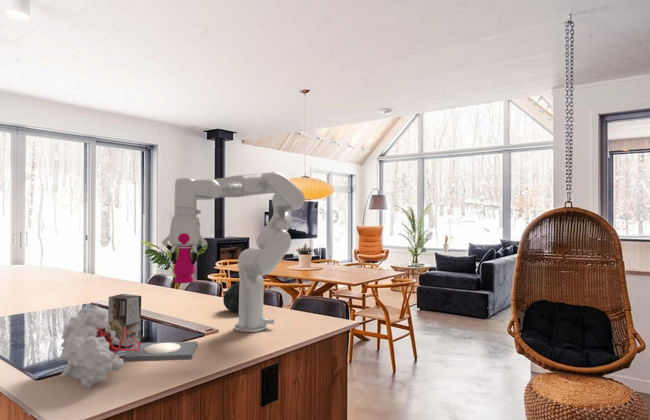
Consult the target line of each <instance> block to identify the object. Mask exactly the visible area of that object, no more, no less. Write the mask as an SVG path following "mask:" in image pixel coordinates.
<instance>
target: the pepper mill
mask: <svg viewBox="0 0 650 420" xmlns="http://www.w3.org/2000/svg"><path fill="white" fill-rule="evenodd" d="M178 240H179V241H180V242H181V243H182V244H179V245H178V246H177V248H176V249H178V252H177V261H176V263H175V264H173V265H174V266H173V271H172V272H173V273H174V275H175V277H174V283H175V284H190V283H193V282H194V276H193V274H195V271H196V268H195V264H192V255H191V254H192V253H191V250H192V249H193V248H192V245H189V244H186V243H187V242H188V241H189V240H190V237H189V235H188V234H186V233H182V234H180V235H179V237H178Z"/></svg>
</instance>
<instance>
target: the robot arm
mask: <svg viewBox="0 0 650 420" xmlns="http://www.w3.org/2000/svg"><path fill="white" fill-rule="evenodd" d="M266 194H268V195H269V194H273V196H272V198H271V204H272V209H273V214H272V217H271V218H270V220H269V222H268V223H267V224H266V225H264V227H263V229H261V232H260V233H259V234H258V235H257V237H256V242H255V243H256V246H257V248H246V249H244V250H242V251H241V252H240V254H239V256H238V259H237V266H238V267H237V268H238V276H239V282H240V287H239V313H238V322H237V323H236V324H234V327H233V329H234V330H235V331H237V332H242V333H257V332H263V331H265V330H267V325H268V324H269V325H274V324H275V318H271V317H270V318H266V317H264V291H265V289H264V287H265V285H264V282H265V281H264V276H267V275H269V274H271V273H272V272H273V271H274V270H275V269H276V268H277V266H278V265H279V264H280V262H281V261H282V260H283V258H284V257H285V255H286V254H287V253H288V252H289V250H290V247H291V244H292V238H291V234H290V233H289V232H288V231H289V230H290V227H291V225H292V212H291V211H297V210H299V209H302V208H303V207H304V205H305V202H306V198H305V195H304V193H303V191H302V190H301V189H300V188H299V187H298V186H297V185H296V184H294V182H292V181H291V180H290V179H289V178H288V177H286V176H285V174H283V173H281V172H278V171H272V172H271V171H270V172H261V173H251V174H250V173H249V174H248V173H247V174H239V175H232V176H226V177H222V178H221V177H220V178H213V179H211V178H207V179H204V178H203V179H194V178H189V177H188V178H187V177H185V178H183V177H181V178H177V179H176V180H175V182H174V211H173V212H174V216H172V218H171V221H170V229H169V234H168V235H167V236H166V237H165V238H164V239H163V240H162V241H161V244H162V245H163V246H164V247H166V249H168V251H169V252H170V253H171V258H170V259H171V262H172V264H173V265H175V263H176V261H177V258H178V252H177V249H178V248H177V247H178V245H179V244H182V243H181V242H180V241H179V240H178V237H179V235H180V234H182V233H186V234H188V235H189V237H190V240H189V241H188V242H187V243H186V244H189V245H192V248H191V249H193V252H192V253H191V254H192V255H191V258H192V264H194V265H195V264H196V263H197V262H198V253H199V251H201V250H202V249H203V248H204V247H205V246H206V245H207V244H208V242H207V240H206V239H205V238H204V237H203V236H202V235H201V226H200V225H201V222H200V217H198V216H197V215H201V213H202V211H201V209H197V208H198V206H197V205H198V204H197V203H198V201H209V200H214V199H218V198H219V199H221V198H241V197H243V198H244V197H250V196H257V195H258V196H259V195H266ZM200 242H201V244H200V245H199V243H200ZM169 243H170V244H169ZM197 245H198V246H197Z"/></svg>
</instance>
